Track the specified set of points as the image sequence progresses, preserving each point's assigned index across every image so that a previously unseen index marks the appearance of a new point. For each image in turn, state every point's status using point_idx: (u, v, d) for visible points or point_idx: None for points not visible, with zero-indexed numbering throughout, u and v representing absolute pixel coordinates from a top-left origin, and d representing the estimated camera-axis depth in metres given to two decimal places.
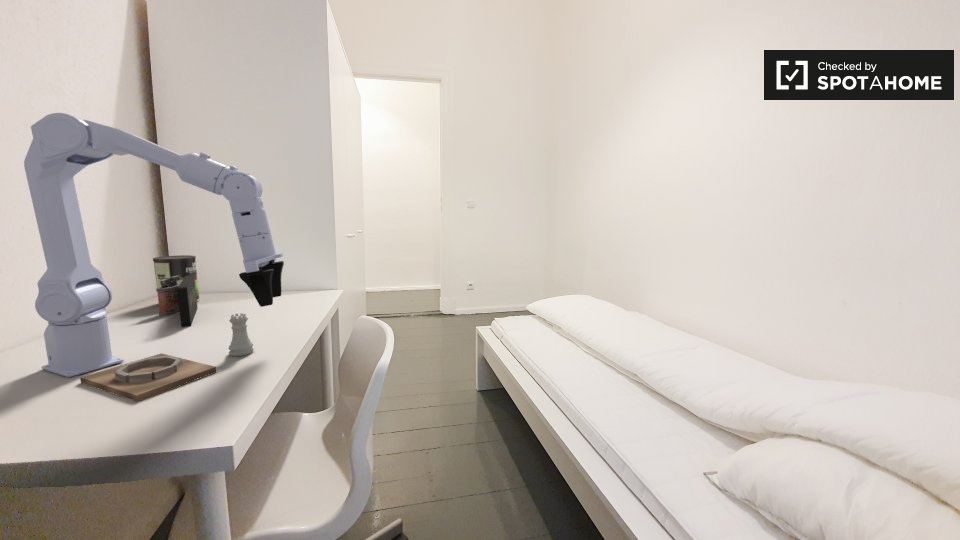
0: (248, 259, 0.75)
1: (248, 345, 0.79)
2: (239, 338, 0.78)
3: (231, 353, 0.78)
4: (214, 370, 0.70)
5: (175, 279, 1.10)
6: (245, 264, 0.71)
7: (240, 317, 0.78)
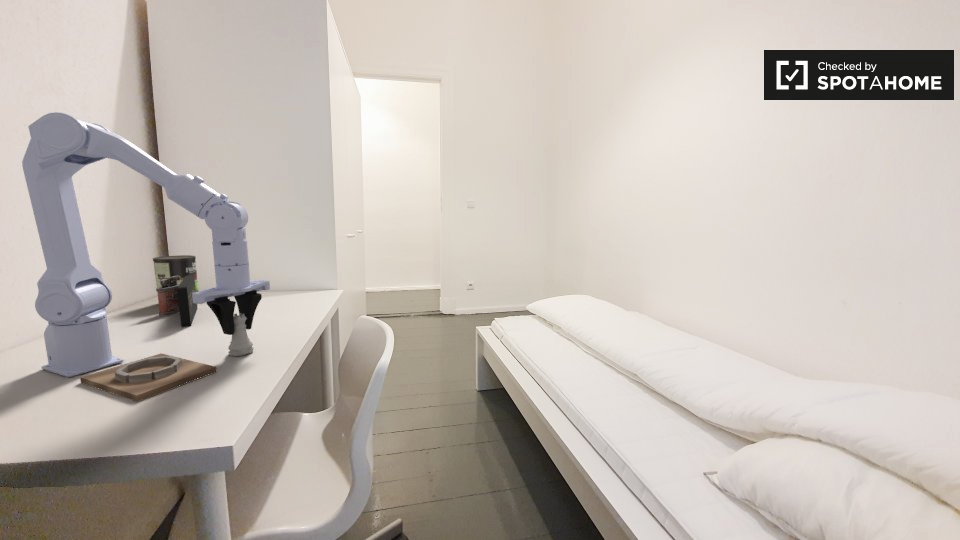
0: (216, 287, 0.76)
1: (248, 345, 0.79)
2: (238, 338, 0.78)
3: (231, 353, 0.78)
4: (214, 370, 0.70)
5: (175, 279, 1.10)
6: (192, 294, 0.71)
7: (239, 317, 0.77)
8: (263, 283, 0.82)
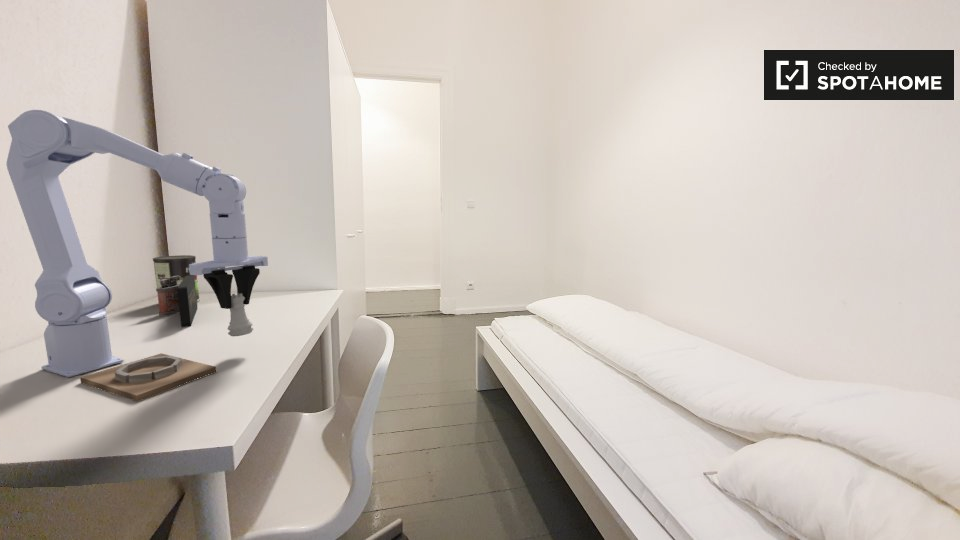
0: (213, 260, 0.75)
1: (247, 324, 0.78)
2: (237, 317, 0.77)
3: (230, 333, 0.77)
4: (214, 370, 0.70)
5: (175, 279, 1.10)
6: (189, 266, 0.70)
7: (237, 296, 0.77)
8: (261, 258, 0.81)
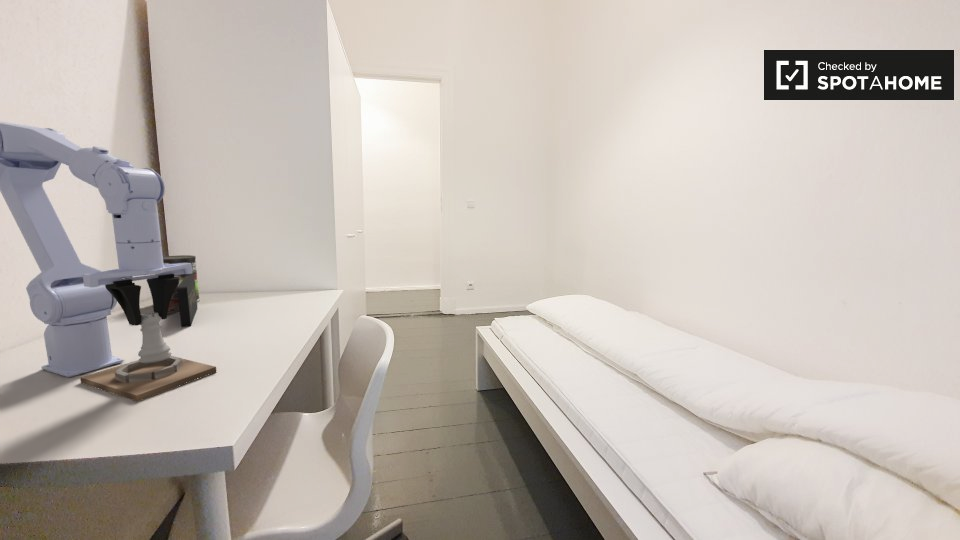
0: (118, 269, 0.64)
1: (162, 349, 0.67)
2: (150, 341, 0.66)
3: (141, 360, 0.66)
4: (214, 370, 0.70)
5: None
6: (83, 276, 0.59)
7: (150, 316, 0.66)
8: (182, 266, 0.70)
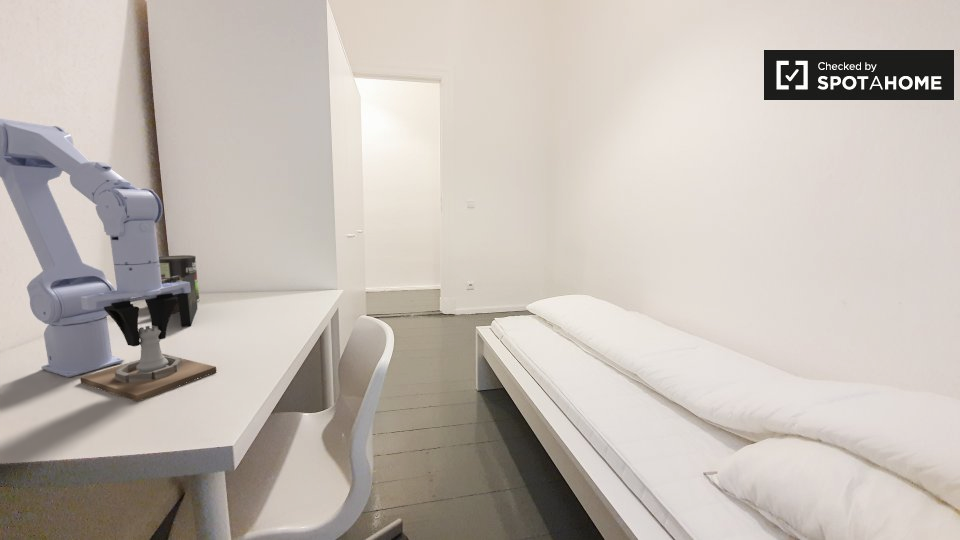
0: (116, 290, 0.64)
1: (160, 363, 0.67)
2: (148, 355, 0.66)
3: None
4: (214, 370, 0.70)
5: (175, 279, 1.10)
6: (81, 299, 0.59)
7: (149, 330, 0.65)
8: (181, 285, 0.70)
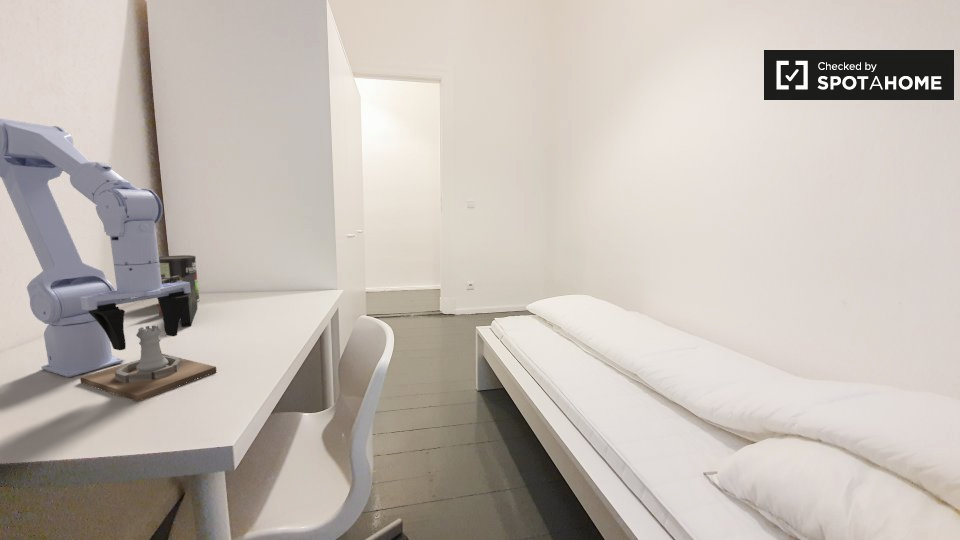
0: (116, 290, 0.64)
1: (160, 363, 0.67)
2: (148, 355, 0.66)
3: None
4: (214, 370, 0.70)
5: (175, 279, 1.10)
6: (81, 299, 0.59)
7: (149, 330, 0.65)
8: (181, 285, 0.70)
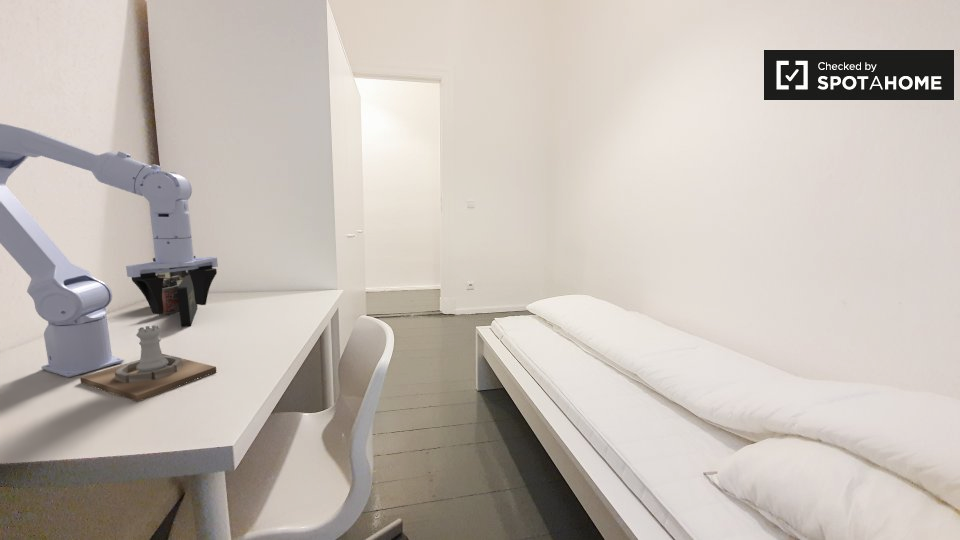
0: (155, 262, 0.72)
1: (160, 363, 0.67)
2: (148, 355, 0.66)
3: None
4: (214, 370, 0.70)
5: (175, 279, 1.10)
6: (126, 267, 0.68)
7: (149, 330, 0.65)
8: (209, 259, 0.79)
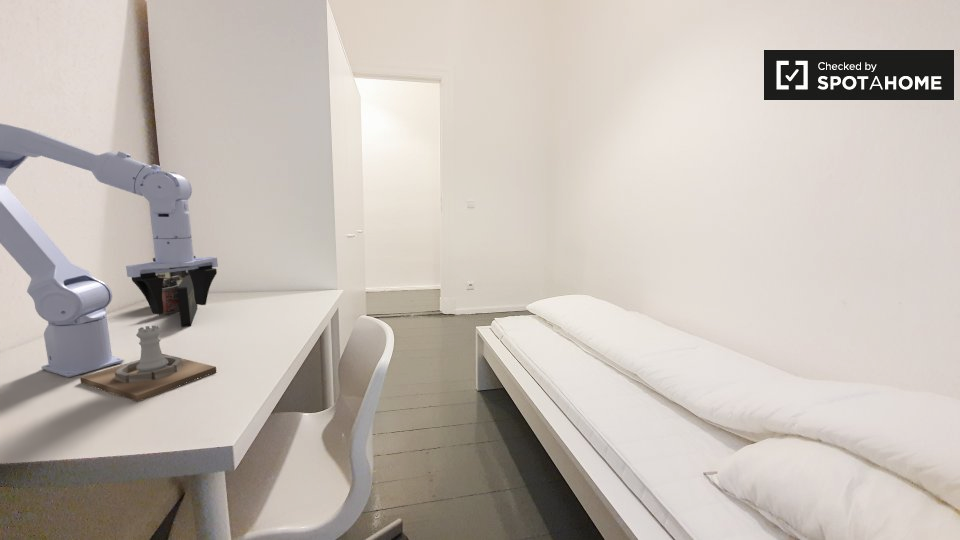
0: (155, 262, 0.72)
1: (160, 363, 0.67)
2: (149, 355, 0.66)
3: None
4: (214, 370, 0.70)
5: (175, 279, 1.10)
6: (126, 267, 0.68)
7: (149, 330, 0.65)
8: (209, 259, 0.79)
